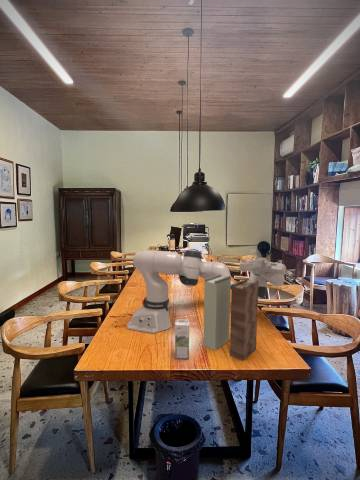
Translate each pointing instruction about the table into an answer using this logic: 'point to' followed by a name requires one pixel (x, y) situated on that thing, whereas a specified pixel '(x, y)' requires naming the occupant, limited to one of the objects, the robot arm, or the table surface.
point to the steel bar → (252, 264)
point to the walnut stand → (243, 319)
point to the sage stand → (216, 311)
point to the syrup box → (181, 339)
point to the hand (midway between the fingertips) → (260, 261)
